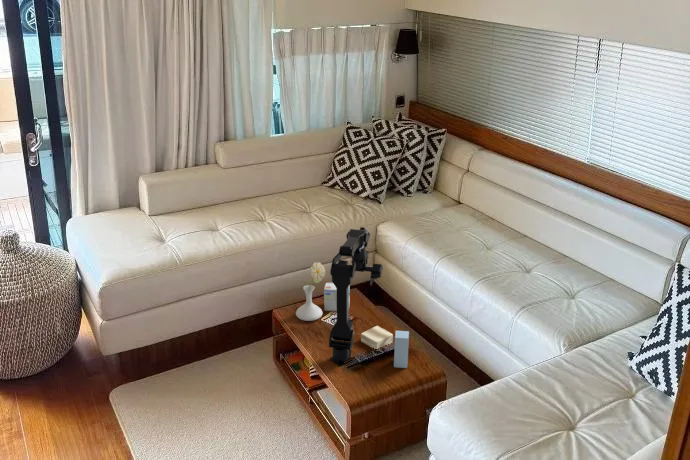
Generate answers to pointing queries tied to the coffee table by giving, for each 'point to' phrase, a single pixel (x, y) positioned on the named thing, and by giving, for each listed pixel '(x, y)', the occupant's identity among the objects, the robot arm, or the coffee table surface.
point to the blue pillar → (401, 349)
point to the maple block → (376, 337)
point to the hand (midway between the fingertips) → (360, 283)
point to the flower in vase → (310, 309)
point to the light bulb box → (331, 297)
